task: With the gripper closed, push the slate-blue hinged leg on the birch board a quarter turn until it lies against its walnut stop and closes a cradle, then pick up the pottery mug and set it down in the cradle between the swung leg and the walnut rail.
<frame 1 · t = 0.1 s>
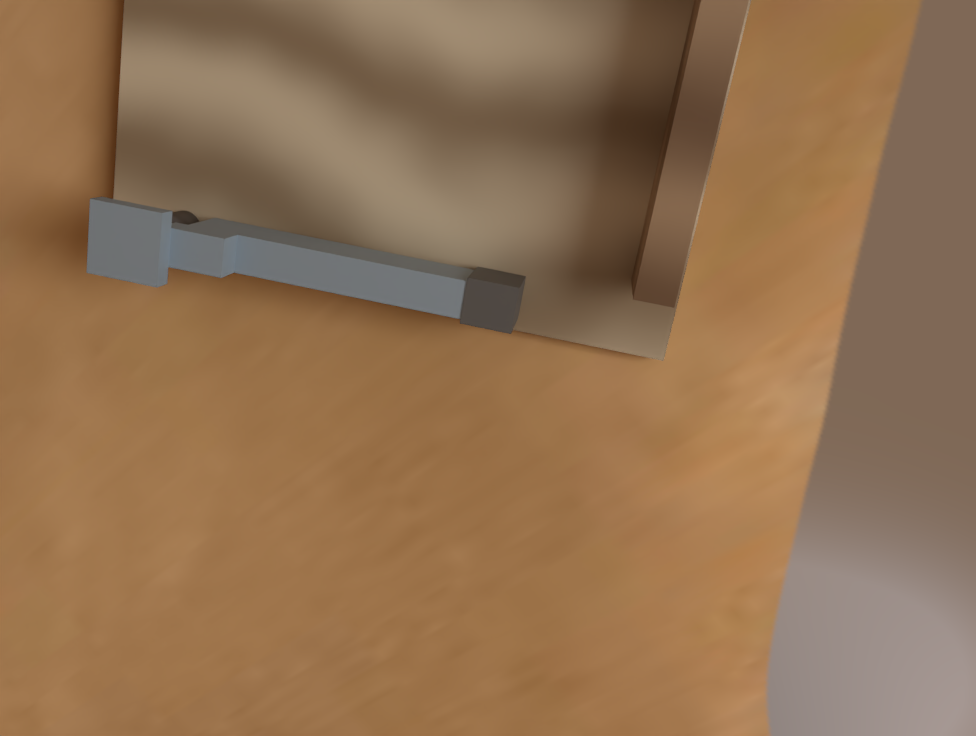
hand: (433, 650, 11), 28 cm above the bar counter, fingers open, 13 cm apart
leg: (314, 268, 35), point 4 cm above the bar counter, hinge at 0.0°
board: (417, 81, 37), on the bar counter
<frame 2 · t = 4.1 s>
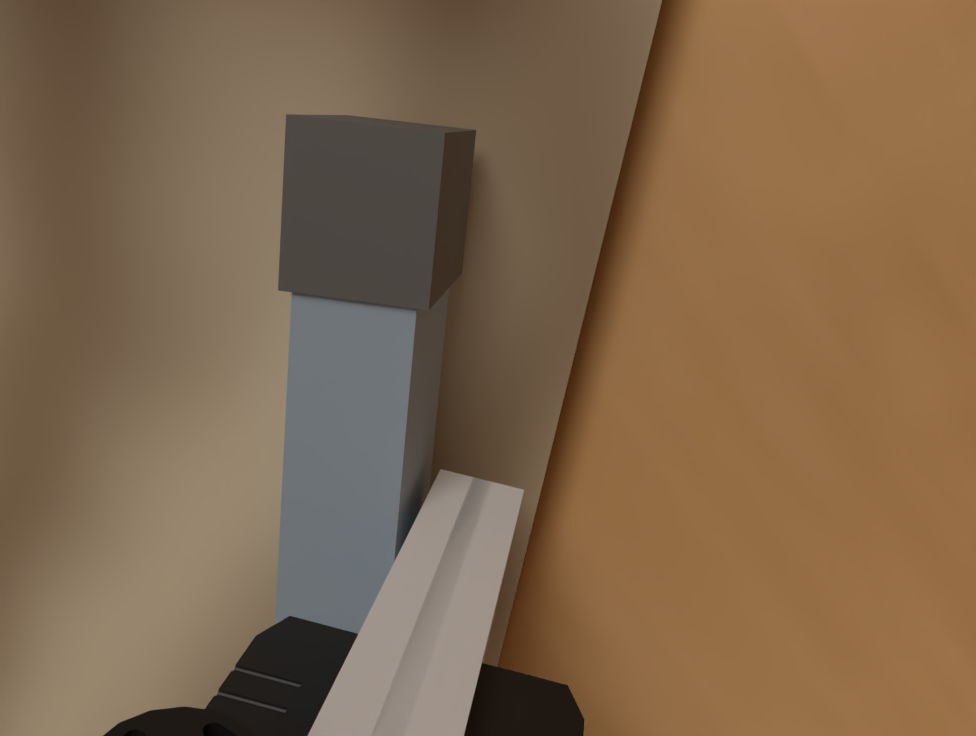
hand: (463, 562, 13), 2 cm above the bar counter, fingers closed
leg: (329, 720, 13), point 4 cm above the bar counter, hinge at 5.8°, touching gripper
board: (33, 382, 16), on the bar counter
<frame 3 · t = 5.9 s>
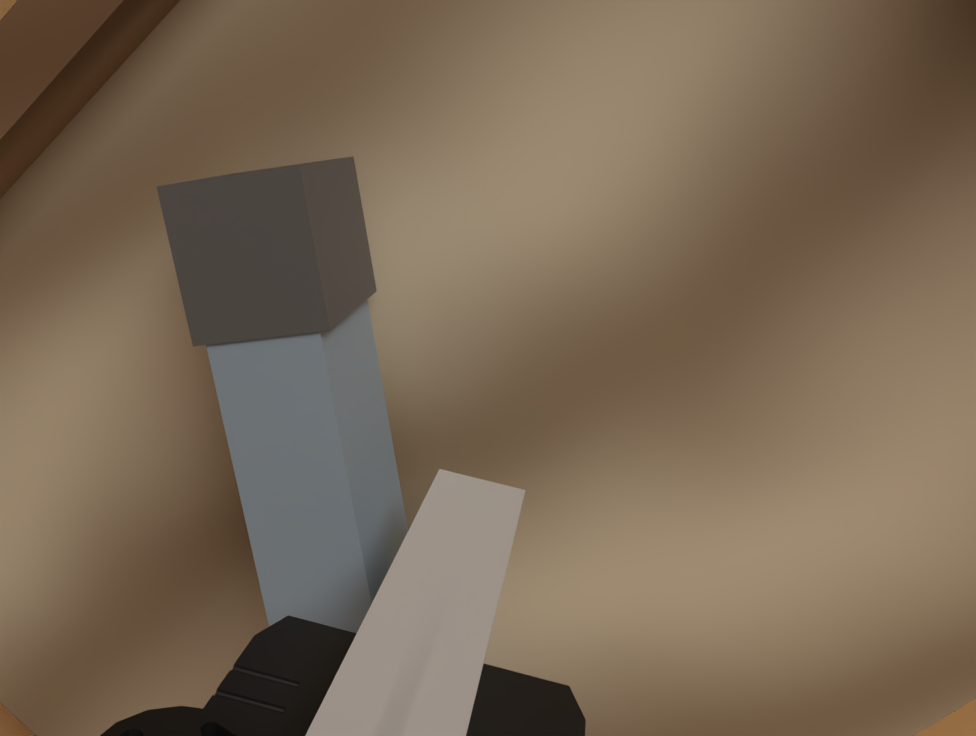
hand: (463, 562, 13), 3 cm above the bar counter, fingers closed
leg: (351, 733, 13), point 4 cm above the bar counter, hinge at 56.2°, touching gripper
board: (538, 347, 15), on the bar counter
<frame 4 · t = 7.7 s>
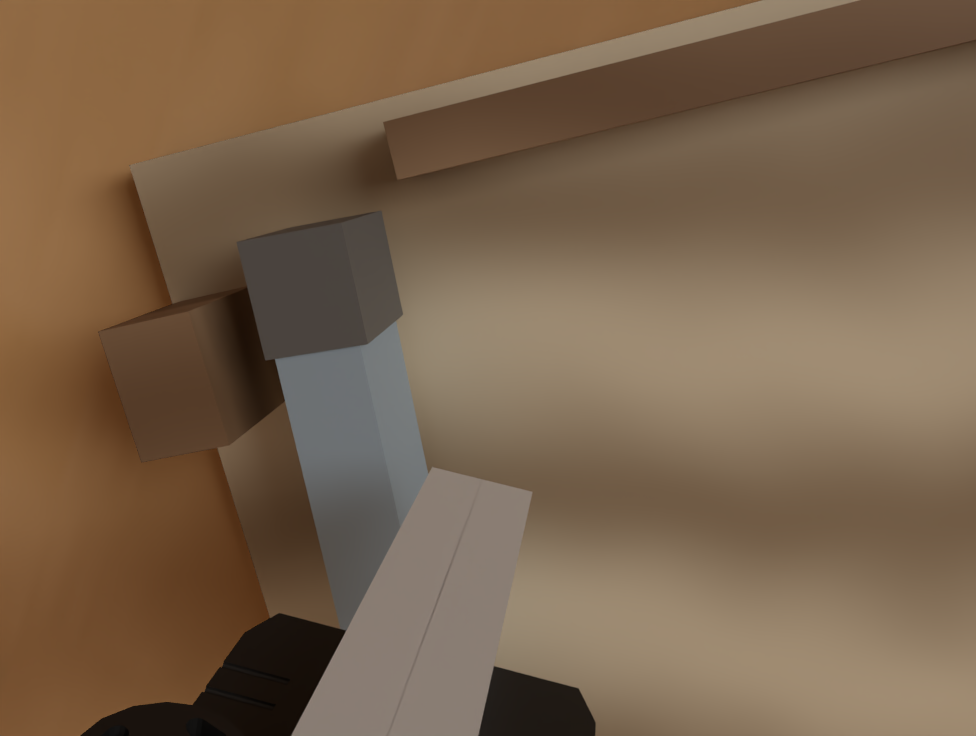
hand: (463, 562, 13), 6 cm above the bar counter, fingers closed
leg: (394, 664, 17), point 4 cm above the bar counter, hinge at 87.3°
board: (818, 468, 19), on the bar counter
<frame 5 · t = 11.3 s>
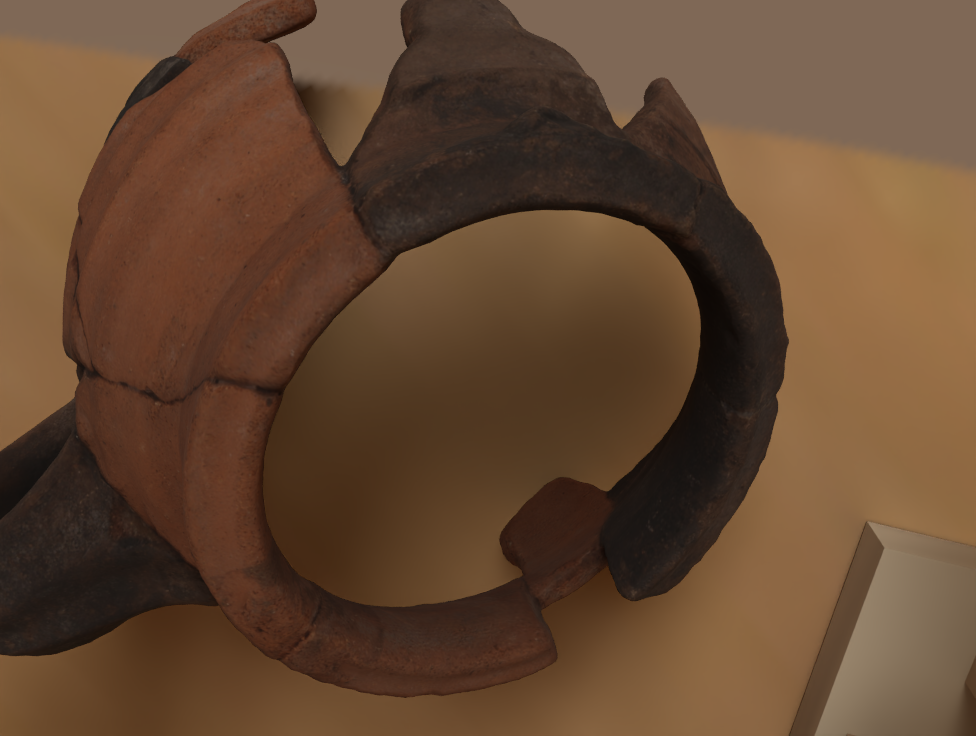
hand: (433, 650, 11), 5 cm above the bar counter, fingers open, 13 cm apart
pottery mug: (374, 309, 16), on the bar counter, touching gripper
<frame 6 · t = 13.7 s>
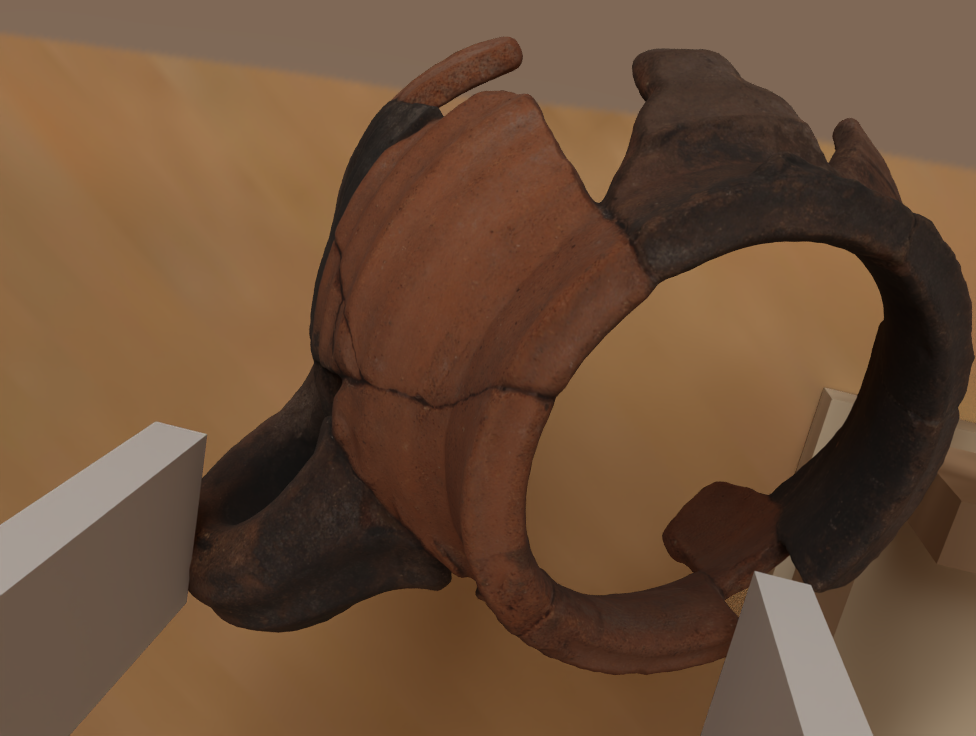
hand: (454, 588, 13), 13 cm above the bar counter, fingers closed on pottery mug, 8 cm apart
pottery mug: (544, 325, 17), point 7 cm above the bar counter, touching gripper
when the fingers open (7 cm above the bar counter, at t = 16.9 s): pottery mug stays where it is, resting on board.
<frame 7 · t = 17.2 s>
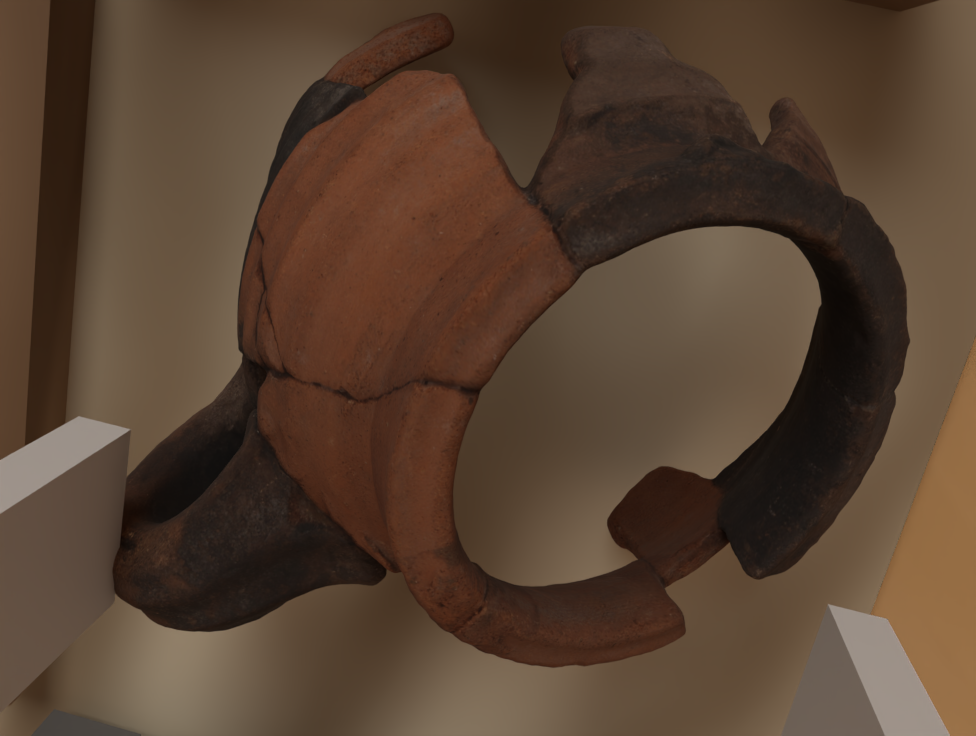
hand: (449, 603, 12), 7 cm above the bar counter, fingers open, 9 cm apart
board: (437, 460, 19), on the bar counter
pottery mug: (485, 309, 17), point 1 cm above the bar counter, touching board, gripper
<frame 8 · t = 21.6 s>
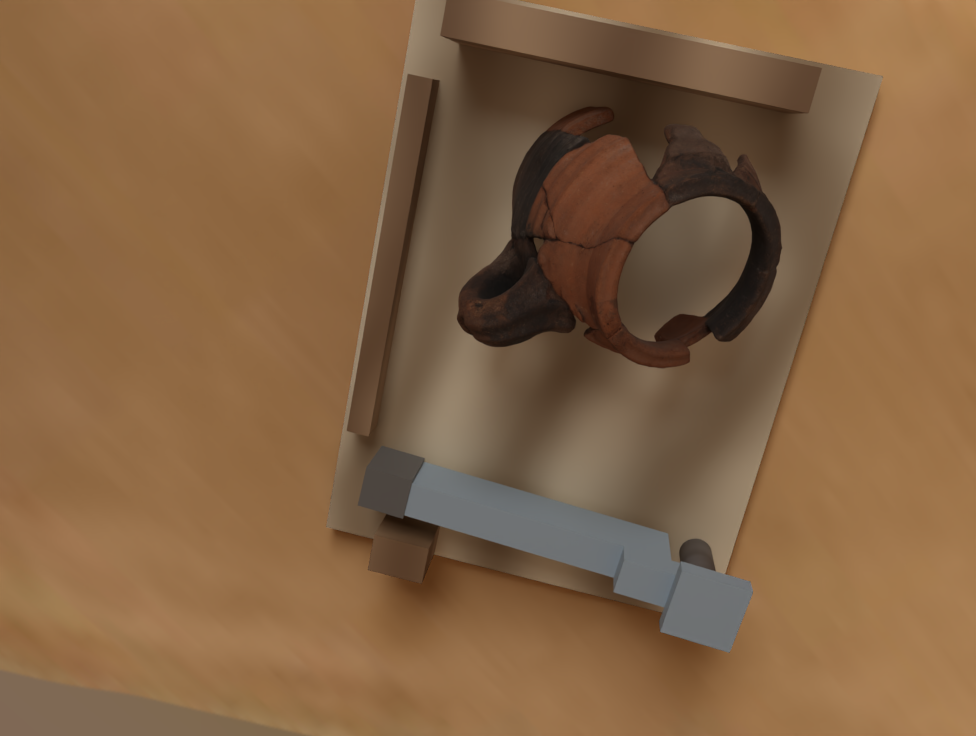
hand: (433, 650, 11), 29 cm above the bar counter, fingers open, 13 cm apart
leg: (546, 537, 38), point 4 cm above the bar counter, hinge at 87.3°
board: (575, 320, 39), on the bar counter
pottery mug: (605, 236, 37), point 1 cm above the bar counter, touching board
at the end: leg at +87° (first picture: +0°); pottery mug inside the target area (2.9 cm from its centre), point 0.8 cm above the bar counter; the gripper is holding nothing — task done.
